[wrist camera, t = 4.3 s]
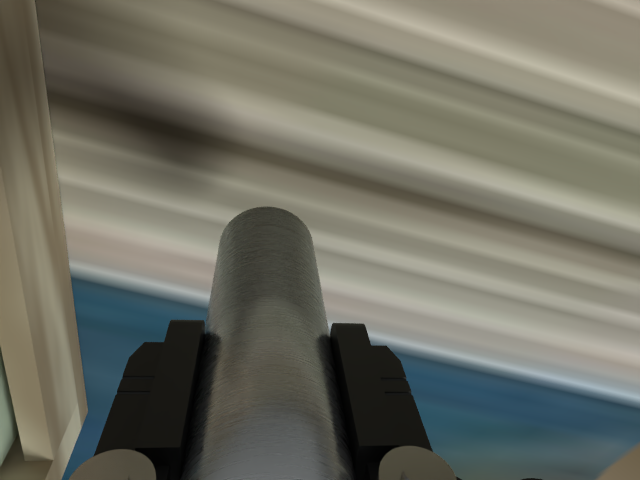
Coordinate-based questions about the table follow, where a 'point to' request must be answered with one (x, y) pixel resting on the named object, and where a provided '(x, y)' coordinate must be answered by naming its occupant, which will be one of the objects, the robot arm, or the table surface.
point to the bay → (34, 264)
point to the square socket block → (6, 414)
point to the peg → (267, 362)
